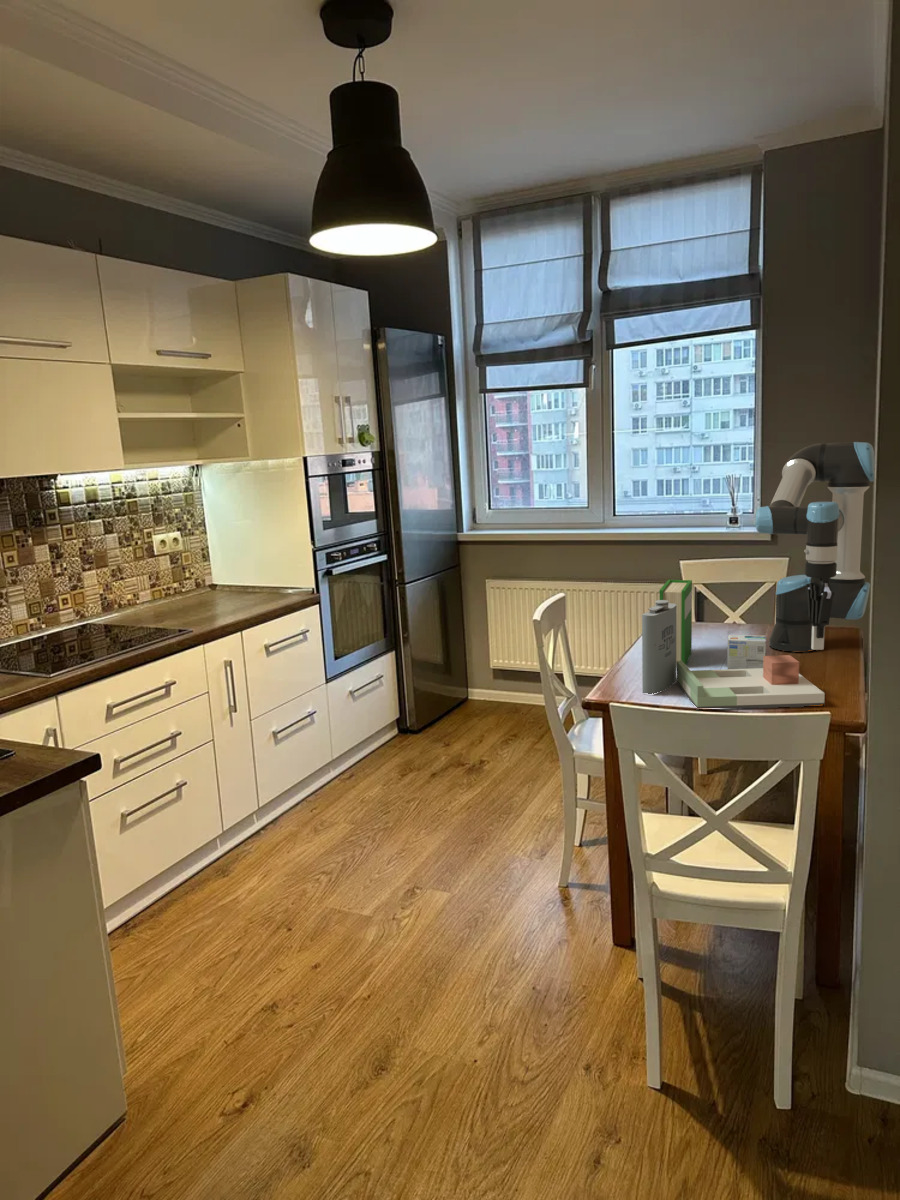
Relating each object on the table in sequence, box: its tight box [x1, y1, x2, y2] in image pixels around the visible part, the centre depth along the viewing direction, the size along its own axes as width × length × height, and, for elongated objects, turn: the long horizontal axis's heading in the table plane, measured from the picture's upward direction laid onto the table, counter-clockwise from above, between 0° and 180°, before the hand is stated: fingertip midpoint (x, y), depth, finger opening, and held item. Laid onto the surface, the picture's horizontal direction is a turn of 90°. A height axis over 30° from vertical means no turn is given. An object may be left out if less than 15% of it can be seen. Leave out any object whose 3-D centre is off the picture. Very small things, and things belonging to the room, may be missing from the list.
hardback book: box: [659, 579, 693, 666], centre depth 255 cm, size 18×7×24 cm, turn 157°
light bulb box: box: [727, 634, 767, 669], centre depth 240 cm, size 11×7×11 cm, turn 71°
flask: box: [641, 599, 677, 694], centre depth 229 cm, size 17×5×25 cm, turn 143°
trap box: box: [676, 661, 826, 711], centre depth 221 cm, size 32×24×6 cm
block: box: [763, 654, 800, 685], centre depth 220 cm, size 7×7×6 cm
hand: (817, 648), depth 218 cm, fingers closed
